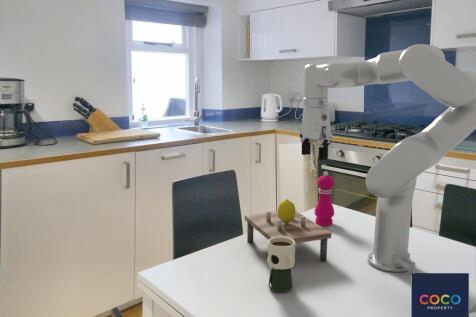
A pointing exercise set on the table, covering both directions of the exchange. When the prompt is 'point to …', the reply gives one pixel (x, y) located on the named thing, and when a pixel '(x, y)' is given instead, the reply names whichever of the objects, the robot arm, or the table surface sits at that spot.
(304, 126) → the robot arm
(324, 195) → the pepper mill
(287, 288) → the character mug
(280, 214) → the lemon
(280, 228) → the peg shelf
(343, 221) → the table surface
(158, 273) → the table surface
